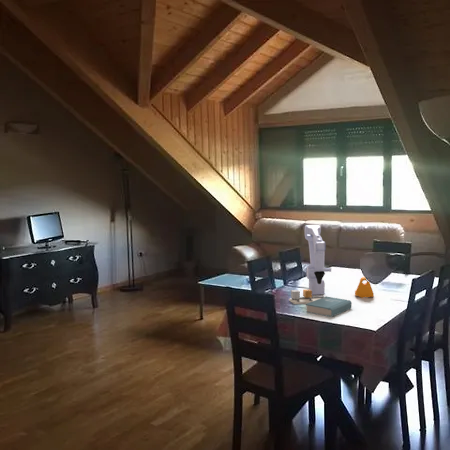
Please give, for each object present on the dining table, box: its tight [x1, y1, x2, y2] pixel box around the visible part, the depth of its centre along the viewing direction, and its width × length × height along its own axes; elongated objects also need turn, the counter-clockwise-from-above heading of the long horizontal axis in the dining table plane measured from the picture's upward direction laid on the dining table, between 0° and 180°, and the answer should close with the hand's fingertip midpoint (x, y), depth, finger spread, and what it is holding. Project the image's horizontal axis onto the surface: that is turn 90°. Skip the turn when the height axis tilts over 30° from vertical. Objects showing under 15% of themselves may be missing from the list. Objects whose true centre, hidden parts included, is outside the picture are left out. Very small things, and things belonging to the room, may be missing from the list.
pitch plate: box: [288, 289, 325, 305], centre depth 328 cm, size 22×9×6 cm, turn 104°
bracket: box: [354, 276, 375, 298], centre depth 341 cm, size 11×7×12 cm, turn 79°
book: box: [305, 296, 352, 318], centre depth 308 cm, size 23×16×5 cm
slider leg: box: [302, 288, 313, 300], centre depth 328 cm, size 4×7×5 cm, turn 14°
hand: (319, 283), depth 333 cm, fingers closed
